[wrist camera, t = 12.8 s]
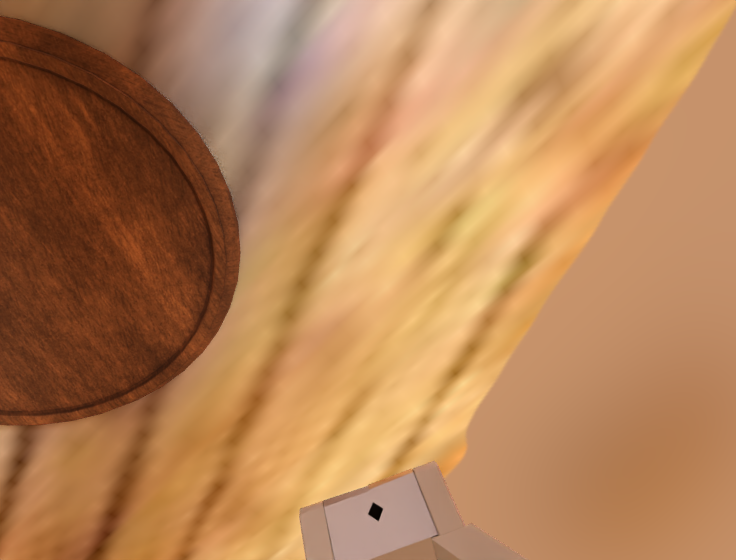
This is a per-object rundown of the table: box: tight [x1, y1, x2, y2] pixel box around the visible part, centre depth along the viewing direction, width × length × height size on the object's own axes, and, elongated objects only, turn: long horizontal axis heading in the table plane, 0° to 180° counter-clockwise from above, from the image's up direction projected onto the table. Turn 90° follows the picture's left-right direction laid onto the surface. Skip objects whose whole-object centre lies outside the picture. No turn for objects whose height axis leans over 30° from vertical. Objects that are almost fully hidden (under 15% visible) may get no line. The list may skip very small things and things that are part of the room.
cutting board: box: [0, 16, 240, 425], centre depth 40 cm, size 32×32×2 cm
